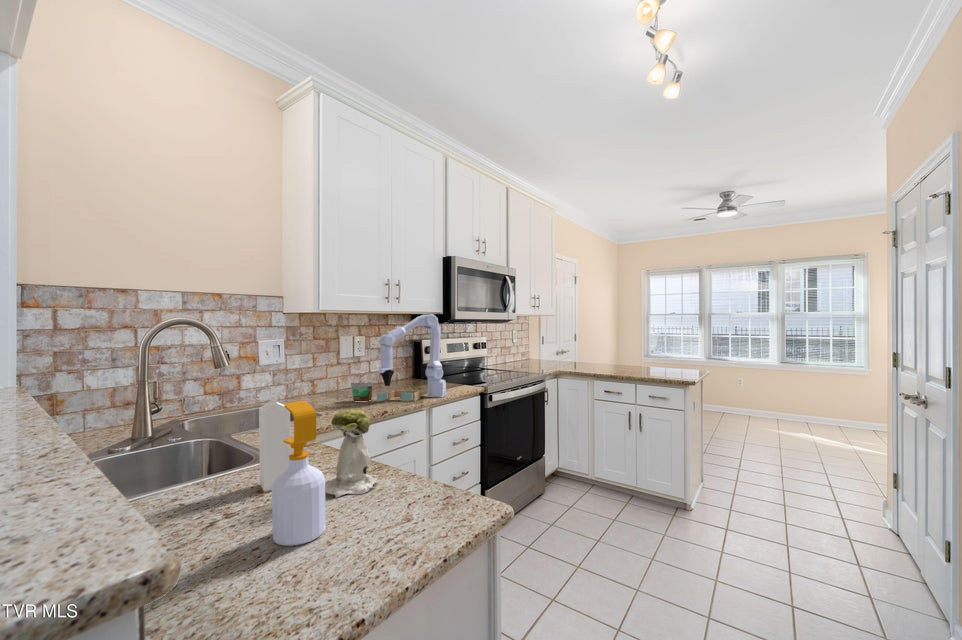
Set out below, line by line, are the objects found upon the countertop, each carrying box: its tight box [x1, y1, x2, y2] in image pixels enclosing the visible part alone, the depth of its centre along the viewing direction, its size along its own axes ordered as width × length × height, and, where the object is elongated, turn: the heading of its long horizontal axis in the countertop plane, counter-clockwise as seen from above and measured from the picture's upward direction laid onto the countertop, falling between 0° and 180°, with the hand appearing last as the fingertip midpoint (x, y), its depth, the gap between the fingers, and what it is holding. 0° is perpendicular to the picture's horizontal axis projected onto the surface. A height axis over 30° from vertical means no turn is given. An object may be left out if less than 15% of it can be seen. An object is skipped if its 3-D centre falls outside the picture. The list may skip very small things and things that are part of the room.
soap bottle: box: [271, 400, 327, 547], centre depth 77 cm, size 9×9×25 cm
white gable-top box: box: [258, 394, 292, 493], centre depth 101 cm, size 6×6×22 cm
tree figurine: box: [325, 408, 379, 499], centre depth 99 cm, size 12×13×18 cm
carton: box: [387, 389, 421, 402], centre depth 212 cm, size 15×8×4 cm, turn 78°
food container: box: [350, 380, 374, 401], centre depth 207 cm, size 12×6×10 cm, turn 73°
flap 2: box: [401, 393, 413, 400], centre depth 206 cm, size 6×1×3 cm, turn 78°
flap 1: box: [376, 392, 388, 402], centre depth 205 cm, size 6×1×3 cm, turn 144°
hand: (387, 385), depth 205 cm, fingers closed
